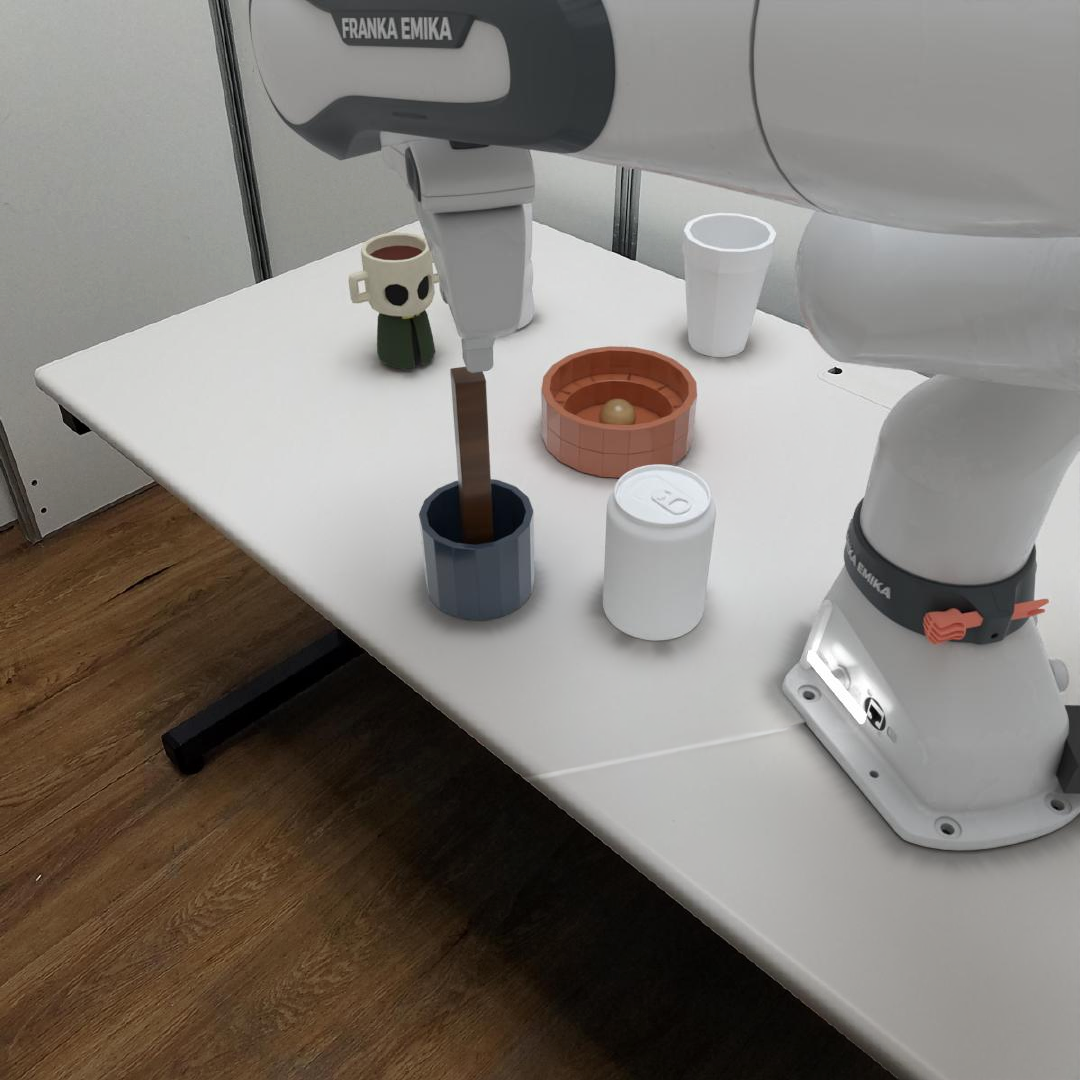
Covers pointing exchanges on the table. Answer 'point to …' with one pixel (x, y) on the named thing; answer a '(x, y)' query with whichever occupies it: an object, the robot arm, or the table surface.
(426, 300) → the character mug
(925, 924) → the table surface
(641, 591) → the beverage can
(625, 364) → the bowl
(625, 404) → the bead
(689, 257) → the foam cup
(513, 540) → the pot
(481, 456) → the stick
